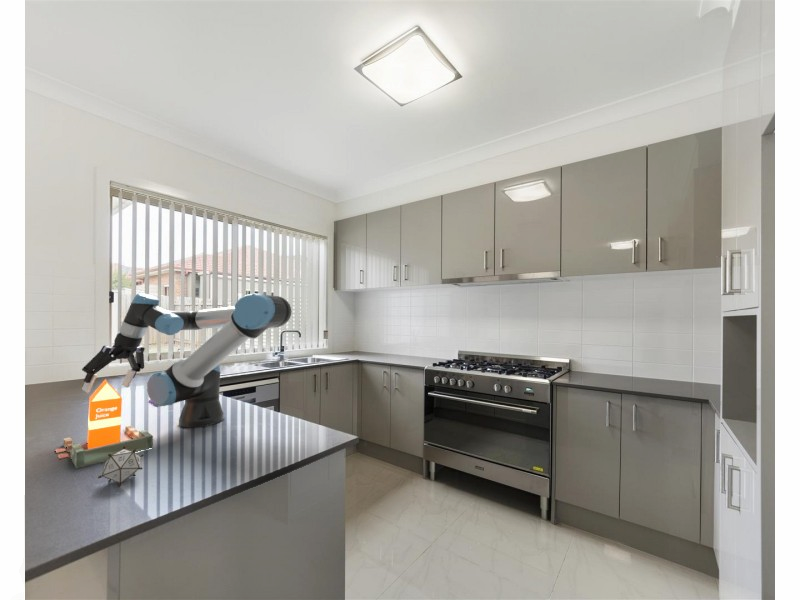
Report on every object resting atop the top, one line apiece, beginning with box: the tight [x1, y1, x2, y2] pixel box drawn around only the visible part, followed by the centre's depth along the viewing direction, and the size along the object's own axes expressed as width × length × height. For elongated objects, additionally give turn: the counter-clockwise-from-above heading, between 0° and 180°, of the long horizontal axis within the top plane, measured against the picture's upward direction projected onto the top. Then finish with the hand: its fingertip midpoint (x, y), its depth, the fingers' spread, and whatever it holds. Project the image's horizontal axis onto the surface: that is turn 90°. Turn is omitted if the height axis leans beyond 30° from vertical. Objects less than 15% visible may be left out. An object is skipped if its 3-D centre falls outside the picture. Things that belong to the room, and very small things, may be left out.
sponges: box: [148, 399, 160, 407], centre depth 158 cm, size 7×13×2 cm, turn 49°
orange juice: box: [87, 378, 123, 449], centre depth 108 cm, size 8×9×20 cm
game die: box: [97, 446, 145, 488], centre depth 83 cm, size 9×8×10 cm
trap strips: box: [54, 447, 70, 460], centre depth 99 cm, size 10×2×1 cm, turn 51°
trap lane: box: [62, 425, 154, 469], centre depth 104 cm, size 26×17×4 cm, turn 51°
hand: (106, 388), depth 121 cm, fingers open, 13 cm apart
